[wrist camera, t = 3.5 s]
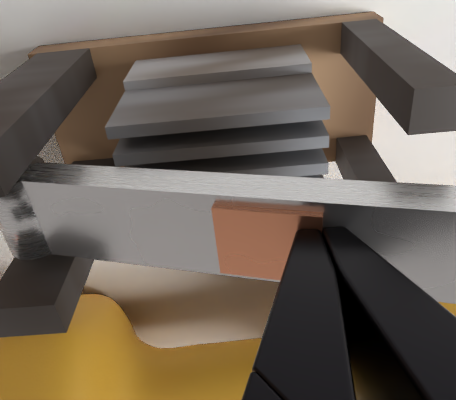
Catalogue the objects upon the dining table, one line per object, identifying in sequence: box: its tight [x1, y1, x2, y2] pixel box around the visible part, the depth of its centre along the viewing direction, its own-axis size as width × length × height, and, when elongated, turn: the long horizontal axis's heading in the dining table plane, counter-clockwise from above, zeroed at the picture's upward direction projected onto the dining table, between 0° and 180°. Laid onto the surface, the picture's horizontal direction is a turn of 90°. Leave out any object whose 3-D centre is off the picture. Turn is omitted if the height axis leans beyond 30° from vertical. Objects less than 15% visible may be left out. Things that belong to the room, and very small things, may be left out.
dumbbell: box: [0, 294, 456, 400], centre depth 17 cm, size 19×9×8 cm, turn 98°
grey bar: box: [0, 156, 456, 304], centre depth 9 cm, size 10×2×1 cm, turn 96°
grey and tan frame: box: [0, 12, 456, 338], centre depth 12 cm, size 11×5×8 cm, turn 96°
